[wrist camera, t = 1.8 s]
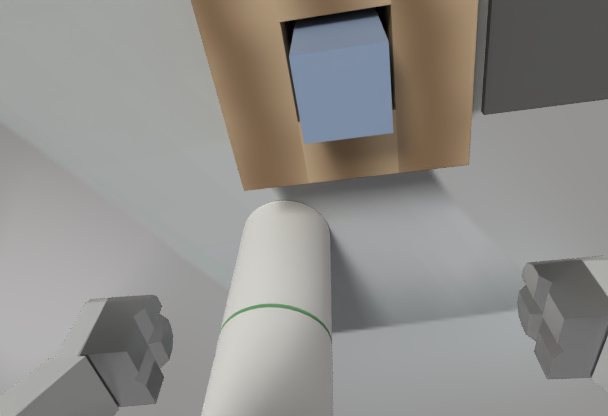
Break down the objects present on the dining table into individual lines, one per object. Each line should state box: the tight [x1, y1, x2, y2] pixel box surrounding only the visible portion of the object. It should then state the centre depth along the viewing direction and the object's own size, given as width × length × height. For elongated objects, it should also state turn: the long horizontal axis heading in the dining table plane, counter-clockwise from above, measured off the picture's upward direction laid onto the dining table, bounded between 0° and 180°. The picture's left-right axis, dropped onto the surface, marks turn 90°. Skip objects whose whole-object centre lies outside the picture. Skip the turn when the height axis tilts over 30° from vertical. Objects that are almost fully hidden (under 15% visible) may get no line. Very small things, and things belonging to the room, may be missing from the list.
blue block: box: [289, 7, 393, 144], centre depth 25 cm, size 4×4×9 cm
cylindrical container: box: [201, 201, 333, 416], centre depth 28 cm, size 7×7×25 cm
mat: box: [481, 0, 608, 115], centre depth 27 cm, size 10×10×1 cm
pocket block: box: [191, 0, 478, 191], centre depth 27 cm, size 14×14×5 cm
